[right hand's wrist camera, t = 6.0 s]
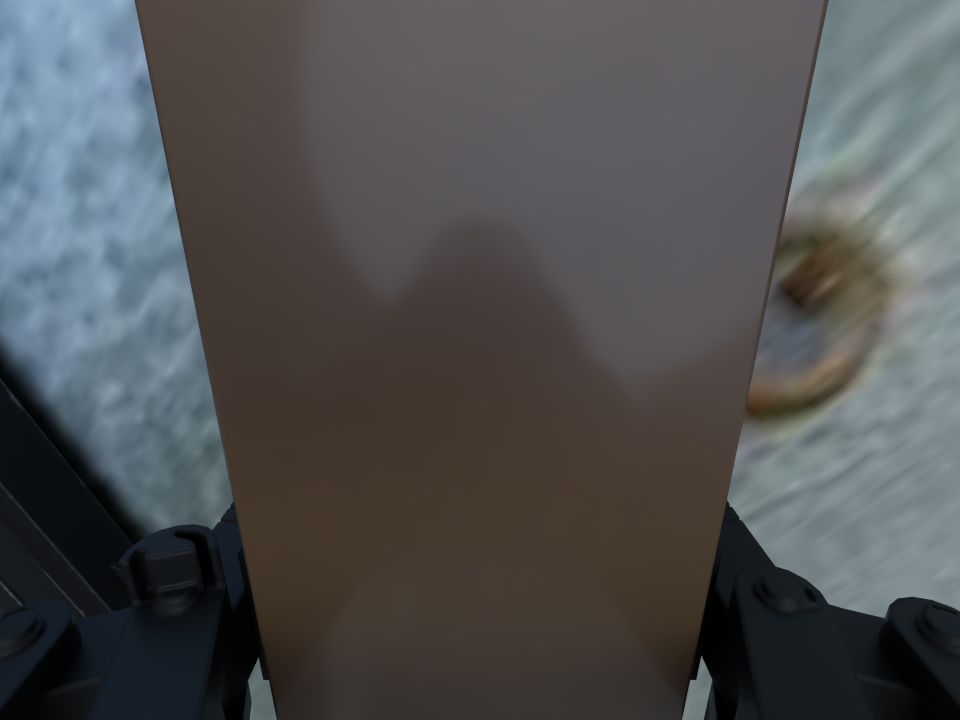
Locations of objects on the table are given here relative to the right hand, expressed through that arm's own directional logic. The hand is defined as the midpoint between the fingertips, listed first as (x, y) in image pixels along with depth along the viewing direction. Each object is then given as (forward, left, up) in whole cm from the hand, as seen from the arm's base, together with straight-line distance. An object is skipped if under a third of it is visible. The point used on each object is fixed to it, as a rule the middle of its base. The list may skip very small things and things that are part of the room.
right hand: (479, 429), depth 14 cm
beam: (+15, +16, -1) cm, 22 cm away
